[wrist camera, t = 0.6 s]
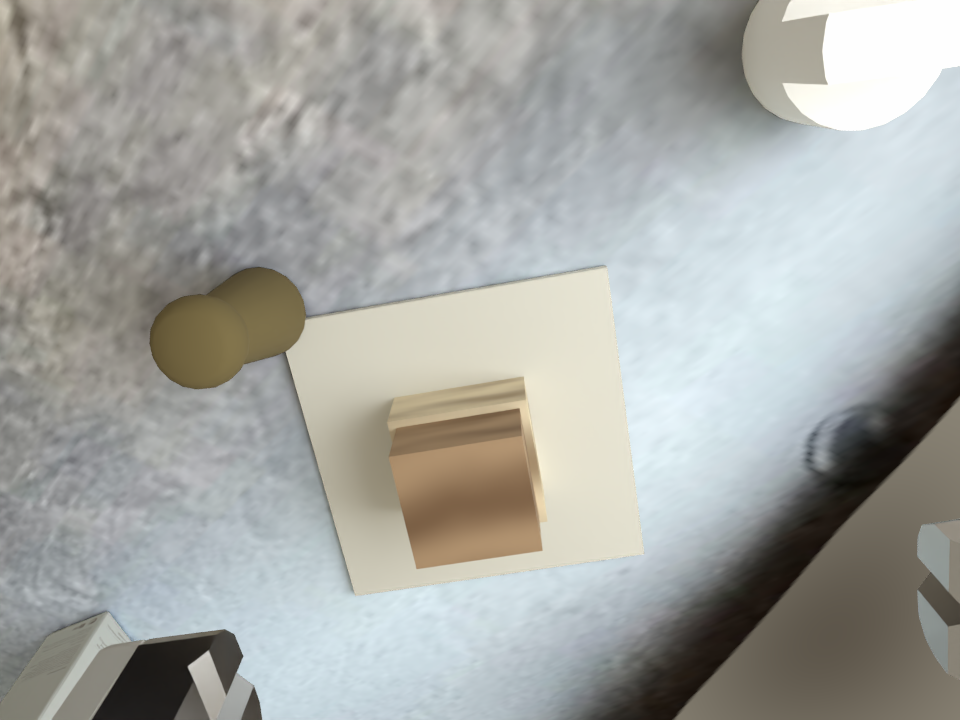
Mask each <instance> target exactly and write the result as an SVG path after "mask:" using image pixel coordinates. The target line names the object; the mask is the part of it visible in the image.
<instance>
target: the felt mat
mask: <svg viewBox="0 0 960 720" xmlns="http://www.w3.org/2000/svg"><path fill="white" fill-rule="evenodd" d="M286 355H287V358H288V362H289V365H290V369H291V372H292V376H293V379H294V383H295V386H296V390H297V393H298V397H299V400H300V404H301V407H302V411H303V414H304V418H305V421H306V425H307V428H308V432H309V435H310V439H311V442H312V446H313V449H314V453H315V456H316V460H317V463H318V467H319V470H320V474H321V477H322V481H323V484H324V488H325V491H326V495H327V498H328V502H329V505H330V509H331V512H332V516H333V519H334V523H335V526H336V530H337V533H338V537H339V540H340V544H341V547H342V551H343V554H344V558H345V561H346V565H347V568H348V572H349V575H350V579H351V582H352V586H353V589H354V593H355V596H358V595H365V594H372V593H379V592H386V591H393V590H400V589H407V588H414V587H421V586H428V585H434V584H441V583H448V582H455V581H462V580H469V579H476V578H483V577H490V576H497V575H503V574H510V573H517V572H524V571H531V570H538V569H545V568H552V567H559V566H566V565H572V564H579V563H586V562H593V561H600V560H607V559H614V558H621V557H628V556H635V555H642V554H644V549H643V541H642V533H641V525H640V518H639V510H638V502H637V494H636V487H635V479H634V471H633V464H632V456H631V448H630V440H629V433H628V425H627V417H626V409H625V402H624V394H623V386H622V378H621V371H620V363H619V355H618V347H617V340H616V332H615V324H614V316H613V309H612V301H611V293H610V286H609V278H608V270H607V266H606V265H605V266H600V267H594V268H588V269H582V270H577V271H571V272H565V273H559V274H554V275H548V276H542V277H536V278H531V279H525V280H519V281H513V282H508V283H502V284H496V285H490V286H485V287H479V288H473V289H467V290H462V291H456V292H450V293H444V294H439V295H433V296H427V297H421V298H415V299H410V300H404V301H398V302H392V303H387V304H381V305H375V306H369V307H364V308H358V309H352V310H346V311H341V312H335V313H329V314H323V315H318V316H312V317H306V318H305V326H304V330H303V332H302V334H301V336H300V338H299V340H298V341H297V342H296V343H295V344H294V345H293V346H292V347H291V348H290V349H289V350H287V351H286ZM523 376H524V381H525V387H526V392H527V398H528V404H529V409H530V415H531V421H532V426H533V432H534V438H535V444H536V449H537V455H538V461H539V466H540V472H541V478H542V483H543V489H544V496H545V504H546V512H547V521H548V522H541V523H540V530H541V539H542V549H543V551H538V552H531V553H524V554H517V555H511V556H504V557H497V558H490V559H483V560H476V561H470V562H463V563H456V564H449V565H442V566H436V567H429V568H422V569H416V565H415V561H414V557H413V553H412V549H411V545H410V541H409V537H408V533H407V529H406V525H405V521H404V517H403V513H402V509H401V505H400V501H399V497H398V493H397V489H396V485H395V481H394V477H393V473H392V469H391V465H390V461H389V453H390V450H391V446H392V440H391V436H390V432H389V428H388V424H387V421H388V417H389V414H390V411H391V407H392V404H393V401H394V398H395V397H401V396H408V395H414V394H420V393H426V392H432V391H438V390H444V389H450V388H456V387H462V386H469V385H475V384H481V383H487V382H493V381H499V380H505V379H511V378H517V377H523Z"/></svg>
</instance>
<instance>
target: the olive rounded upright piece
mask: <svg viewBox="0 0 960 720" xmlns="http://www.w3.org/2000/svg"><path fill="white" fill-rule="evenodd" d="M305 318H306V312H305V307H304V301H303V299H302V297H301V295H300V293H299V291H298V289H297V287H296V286H295V285H294V284H293V283H292V282H291V281H290V280H289V279H288V278H287V277H286V276H284V275H282V274H280V273H278V272H276V271H275V270H271V269H266V268H261V267H257V268H249V269H245V270H243V271H241V272H239V273H237V274H235V275H233V276H232V277H230V278H229V279H228V280H226V281H225V282H223V283H222V284H221V285H219V286H218V287H217V288H215V289H214V290H212V291H211V292H210V293H208V294H207V295H201V294H198V295H190V296H184V297H181V298H179V299H177V300H175V301H173V302H171V303H169V304H168V305H167V306H166V307H165V308H164V309H163V310H162V311H161V312H160V313H159V314H158V315H157V316H156V318H155V320H154V323H153V325H152V327H151V331H150V347H151V351H152V356H153V358H154V360H155V362H156V364H157V366H158V367H159V369H160V370H161V371H162V372H163V373H164V374H165V375H166V376H167V377H168V378H169V379H170V380H172V381H174V382H176V383H177V384H179V385H181V386H183V387H188V388H193V389H204V388H214V387H217V386H219V385H221V384H223V383H225V382H227V381H229V380H230V379H232V378H233V377H234V376H235V375H236V374H237V373H238V372H239V371H240V370H241V368H242V366H243V364H247V363H251V362H254V361H258V360H262V359H265V358H269V357H273V356H276V355H279V354H281V353H283V352H285V351H287V350H289V349H290V348H291V347H292V346H293V345H294V344H295V343H296V342H297V341H298V340H299V338H300V336H301V334H302V332H303V330H304V326H305Z"/></svg>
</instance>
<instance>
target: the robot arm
mask: <svg viewBox="0 0 960 720" xmlns="http://www.w3.org/2000/svg"><path fill="white" fill-rule="evenodd" d="M918 558H919V559H920V560H921V561H922V562H923V563H924V564H925V566H926V567H927V568H928V569H929V570H930V571H931V572H930V574H929V575H928V576H927V578H926V579H925V580H924V581H923V583H922V584H921V585H920V587H919V588H918V610H919V617H920V620H921V624H922V628H923V631H924V635H925V638H926V640H927V642H928V644H929V646H930V648H931V650H932V652H933V654H934V656H935V657H936V659H937V660H938V662H939V663H940V664H941V665H942V667H943V668H944V670H945V671H946V672H947V674H949V675H950V676H952V677H955V678H956V679H958V680H960V519H956V520H949V521H944V522H937V523H931V524H925V525H922V527H921V530H920V533H919V535H918ZM242 658H243V654H242V652H241V650H240V647H239V645H238V642H237V640H236V637H235V635H234V634H233V633H231V632H229V631H227V630H225V629H224V630H216V631H208V632H200V633H192V634H185V635H177V636H169V637H161V638H153V639H149V640H139V641H133V642H126V643H119V644H113V645H110V646H107V647H105V648H103V649H101V650H99V652H98V653H97V655H96V656H95V658H94V659H93V660H92V662H91V663H90V665H89V666H88V668H87V669H86V670H85V672H84V673H83V675H82V676H81V678H80V679H79V681H78V682H77V683H76V685H75V686H74V688H73V689H72V691H71V692H70V693H69V695H68V696H67V698H66V699H65V701H64V702H63V704H62V705H61V706H60V708H59V709H58V711H57V712H56V714H55V715H54V716H53V718H52V719H51V720H262V715H261V708H260V702H259V699H258V696H257V693H256V690H255V687H254V685H252V684H251V683H250V682H248V681H247V680H246V679H244V678H243V677H242V676H240V675H239V674H238V673H236V672H237V670H238V668H239V665H240V663H241V660H242Z"/></svg>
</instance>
